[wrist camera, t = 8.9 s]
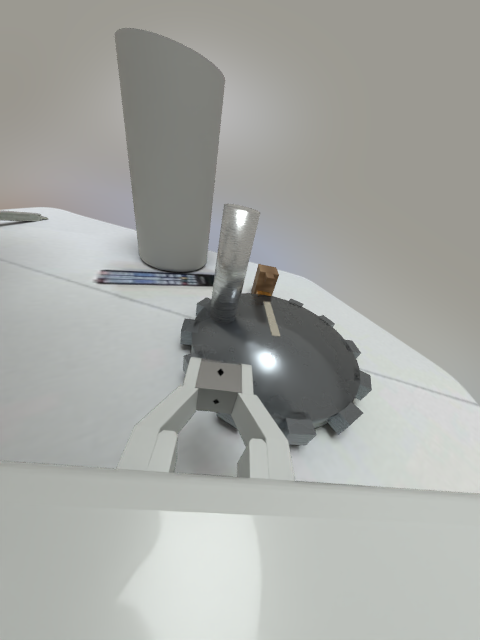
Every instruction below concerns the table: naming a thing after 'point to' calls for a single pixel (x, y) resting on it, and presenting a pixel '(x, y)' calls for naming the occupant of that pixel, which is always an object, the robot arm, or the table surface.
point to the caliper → (20, 216)
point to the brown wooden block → (265, 279)
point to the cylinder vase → (170, 145)
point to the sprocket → (275, 343)
